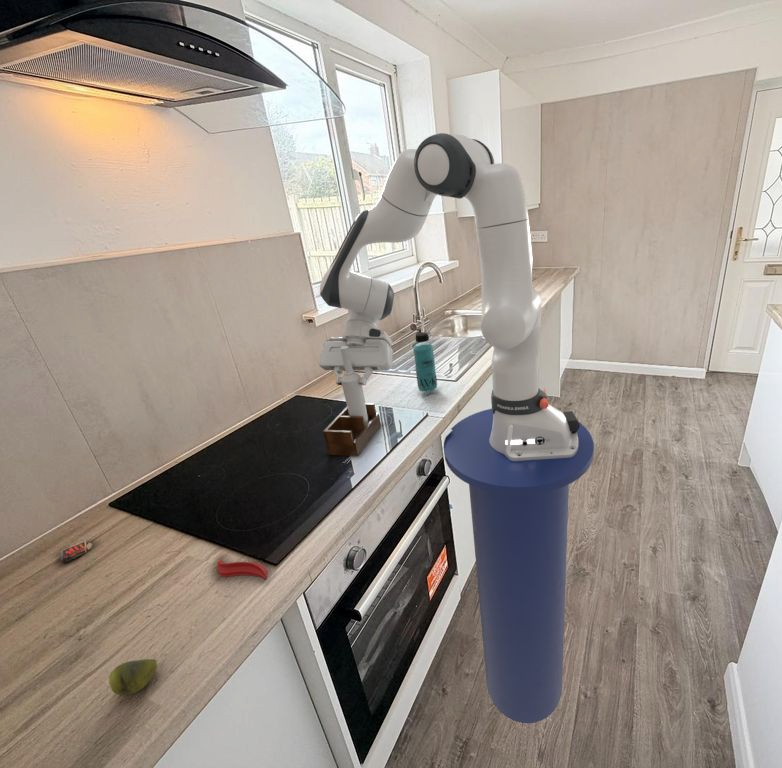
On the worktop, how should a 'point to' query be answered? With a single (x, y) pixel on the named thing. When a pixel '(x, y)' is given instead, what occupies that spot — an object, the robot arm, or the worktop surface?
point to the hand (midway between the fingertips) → (350, 384)
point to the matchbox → (74, 551)
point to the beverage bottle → (425, 363)
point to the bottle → (352, 388)
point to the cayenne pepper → (241, 569)
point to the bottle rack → (351, 432)
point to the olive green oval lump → (132, 676)
